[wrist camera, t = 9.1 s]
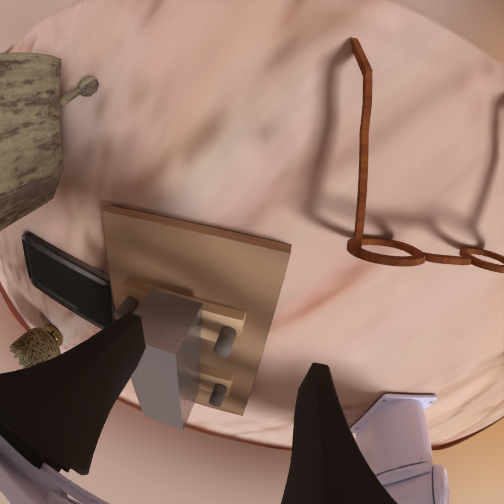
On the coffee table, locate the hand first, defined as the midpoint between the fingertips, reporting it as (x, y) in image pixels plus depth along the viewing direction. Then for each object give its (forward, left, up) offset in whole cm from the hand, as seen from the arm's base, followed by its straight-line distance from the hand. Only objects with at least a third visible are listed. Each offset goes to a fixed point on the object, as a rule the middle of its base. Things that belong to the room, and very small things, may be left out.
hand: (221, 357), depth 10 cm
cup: (-21, +27, -10) cm, 36 cm away
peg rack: (-10, +5, -9) cm, 15 cm away
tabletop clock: (+7, +19, -10) cm, 22 cm away
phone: (-9, +20, -10) cm, 24 cm away
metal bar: (-10, +5, -7) cm, 13 cm away
